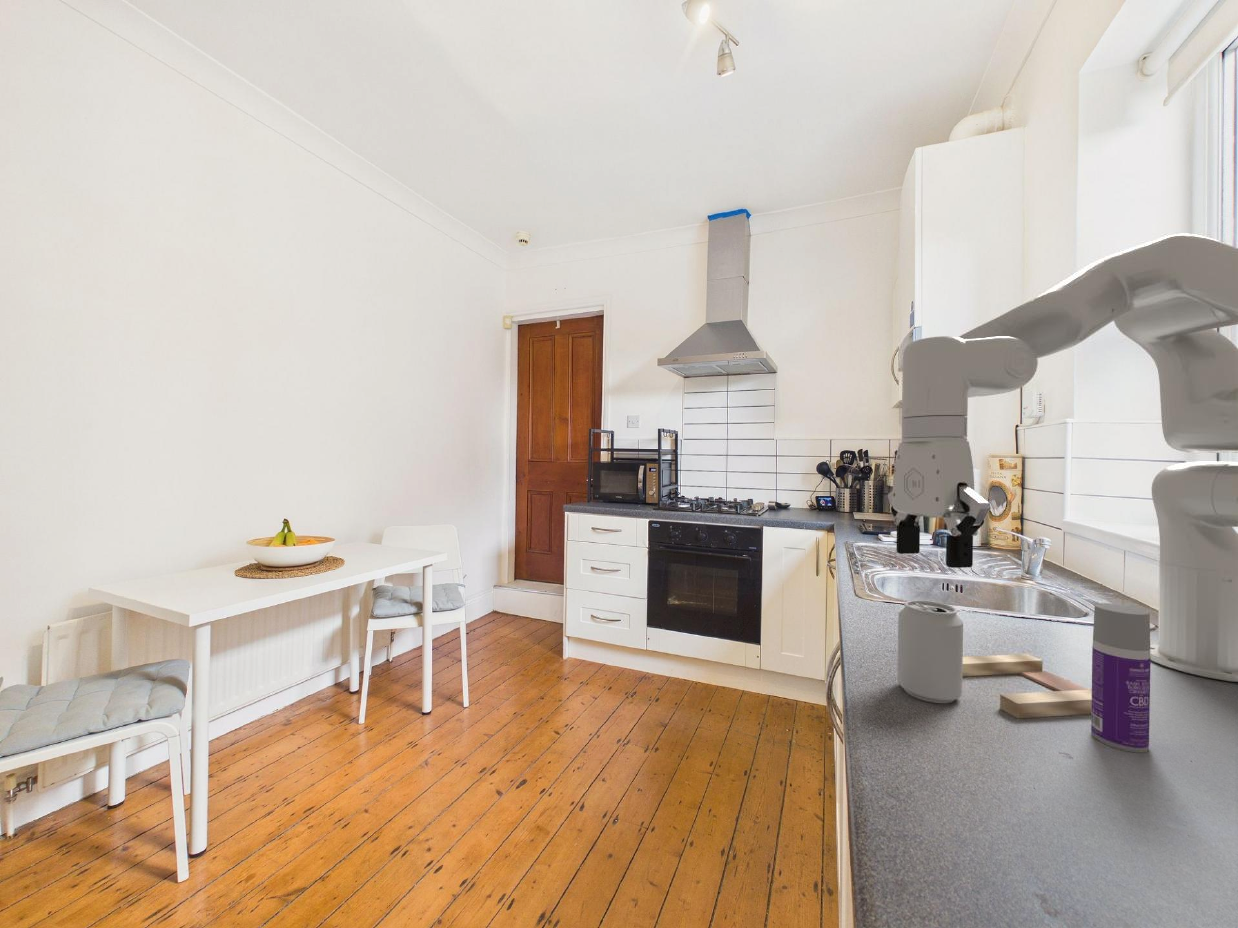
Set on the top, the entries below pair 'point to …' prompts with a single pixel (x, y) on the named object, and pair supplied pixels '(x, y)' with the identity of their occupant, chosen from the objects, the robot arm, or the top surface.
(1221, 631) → the robot arm
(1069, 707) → the channel
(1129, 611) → the container
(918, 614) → the can
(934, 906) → the top surface
